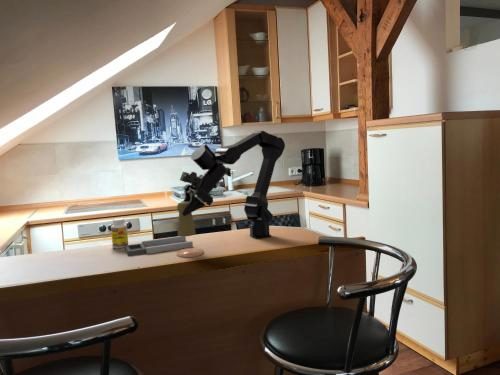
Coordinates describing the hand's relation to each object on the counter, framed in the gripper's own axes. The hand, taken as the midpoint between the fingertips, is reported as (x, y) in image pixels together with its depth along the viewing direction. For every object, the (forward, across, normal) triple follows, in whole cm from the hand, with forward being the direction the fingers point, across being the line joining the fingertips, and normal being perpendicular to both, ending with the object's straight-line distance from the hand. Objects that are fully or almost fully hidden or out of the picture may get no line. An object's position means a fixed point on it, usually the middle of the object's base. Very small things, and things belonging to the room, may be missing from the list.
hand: (181, 213), depth 138 cm
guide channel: (+12, -11, +7) cm, 18 cm away
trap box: (+20, -11, -1) cm, 22 cm away
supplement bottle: (+23, -21, -4) cm, 31 cm away
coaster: (+8, +2, +11) cm, 14 cm away
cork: (+4, 0, +6) cm, 7 cm away
